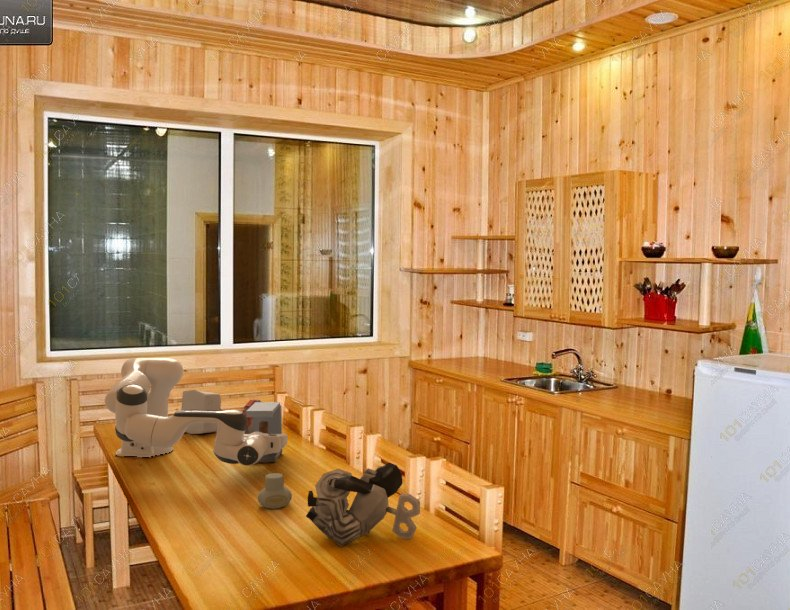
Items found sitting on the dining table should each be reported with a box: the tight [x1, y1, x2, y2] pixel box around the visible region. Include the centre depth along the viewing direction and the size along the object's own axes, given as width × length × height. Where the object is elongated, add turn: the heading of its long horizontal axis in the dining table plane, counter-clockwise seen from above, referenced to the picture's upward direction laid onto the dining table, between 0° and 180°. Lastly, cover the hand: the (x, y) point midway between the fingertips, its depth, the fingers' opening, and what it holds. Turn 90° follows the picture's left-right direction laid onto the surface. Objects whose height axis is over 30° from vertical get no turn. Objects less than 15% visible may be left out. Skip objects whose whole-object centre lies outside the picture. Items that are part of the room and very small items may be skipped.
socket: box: [256, 452, 281, 464], centre depth 291 cm, size 10×10×2 cm
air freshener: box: [256, 472, 293, 510], centre depth 237 cm, size 11×8×10 cm
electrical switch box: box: [180, 389, 222, 435], centre depth 340 cm, size 15×15×20 cm
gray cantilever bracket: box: [246, 401, 284, 455], centre depth 290 cm, size 11×16×21 cm
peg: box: [259, 421, 268, 434], centre depth 286 cm, size 4×4×12 cm
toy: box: [305, 462, 421, 548], centre depth 213 cm, size 21×31×30 cm
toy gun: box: [240, 398, 262, 434], centre depth 330 cm, size 4×20×15 cm, turn 163°
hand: (264, 435), depth 286 cm, fingers closed on peg, 4 cm apart
